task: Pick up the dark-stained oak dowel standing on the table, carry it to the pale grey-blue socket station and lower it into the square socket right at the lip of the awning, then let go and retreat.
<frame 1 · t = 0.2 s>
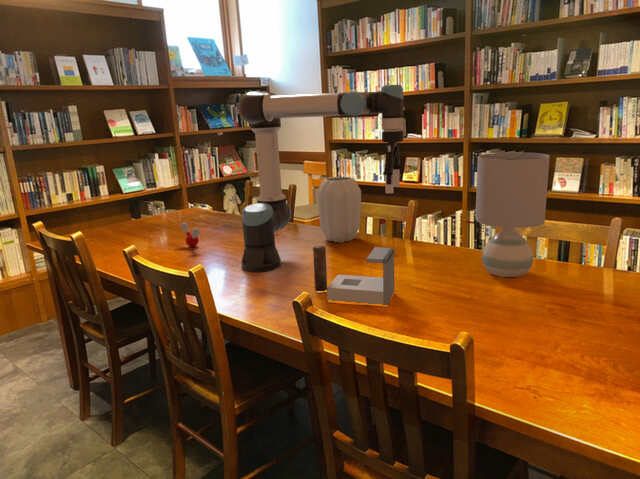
hand: (392, 189, 182), 28 cm above the table, fingers open, 13 cm apart
lamp: (506, 274, 171), on the table
molecular model: (192, 247, 224), on the table
dowel: (321, 291, 163), on the table
vase: (340, 239, 224), on the table
station: (360, 297, 156), on the table
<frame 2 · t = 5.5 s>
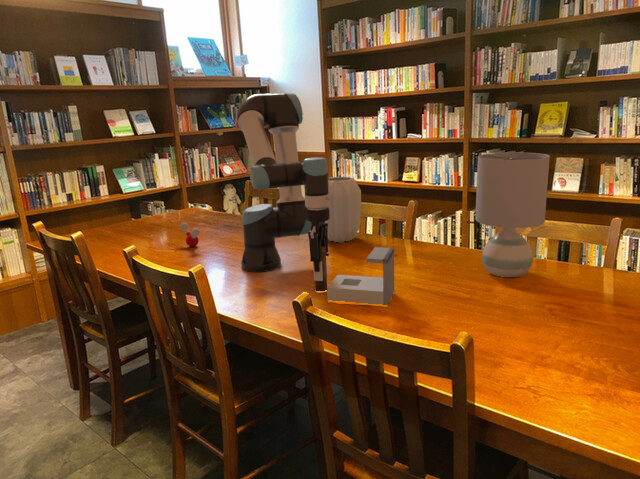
hand: (320, 277, 162), 5 cm above the table, fingers closed on dowel, 4 cm apart
dowel: (321, 291, 163), on the table, touching gripper
everything else where it was.
when the fingers open (6 cm above the table, at t = 10.3 s): dowel drops 1 cm, resting in station.
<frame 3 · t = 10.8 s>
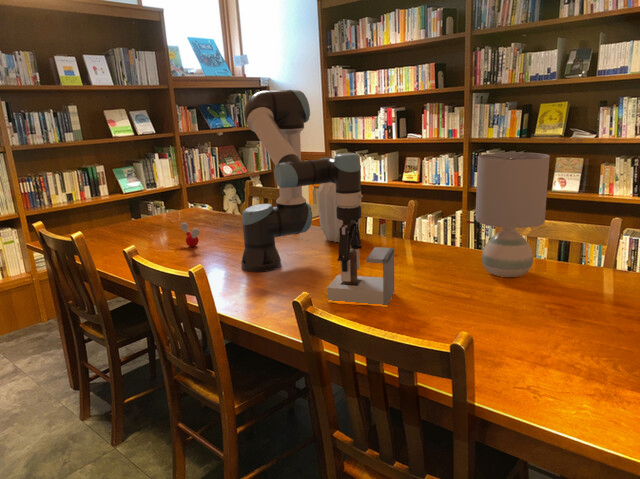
hand: (350, 274, 155), 7 cm above the table, fingers open, 11 cm apart
dowel: (351, 297, 157), resting in station
everything else where it was.
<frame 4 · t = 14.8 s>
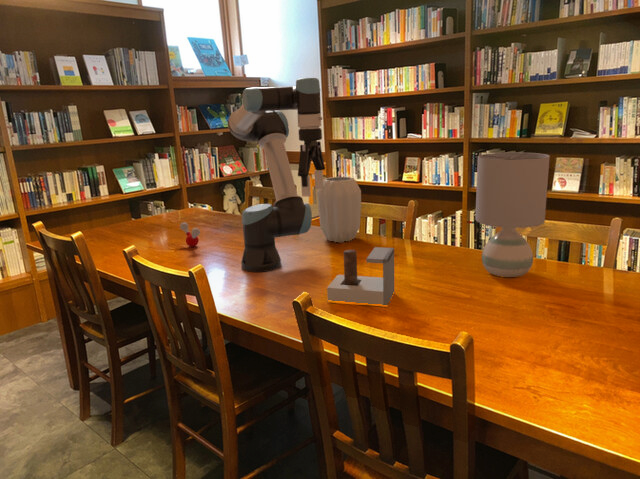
hand: (313, 192, 167), 31 cm above the table, fingers open, 13 cm apart
nothing on the table moved.
at the end: dowel 0.1 cm from the target spot on the station, point 0.0 cm above the station's base; dowel tilted 0°; the gripper is holding nothing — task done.
